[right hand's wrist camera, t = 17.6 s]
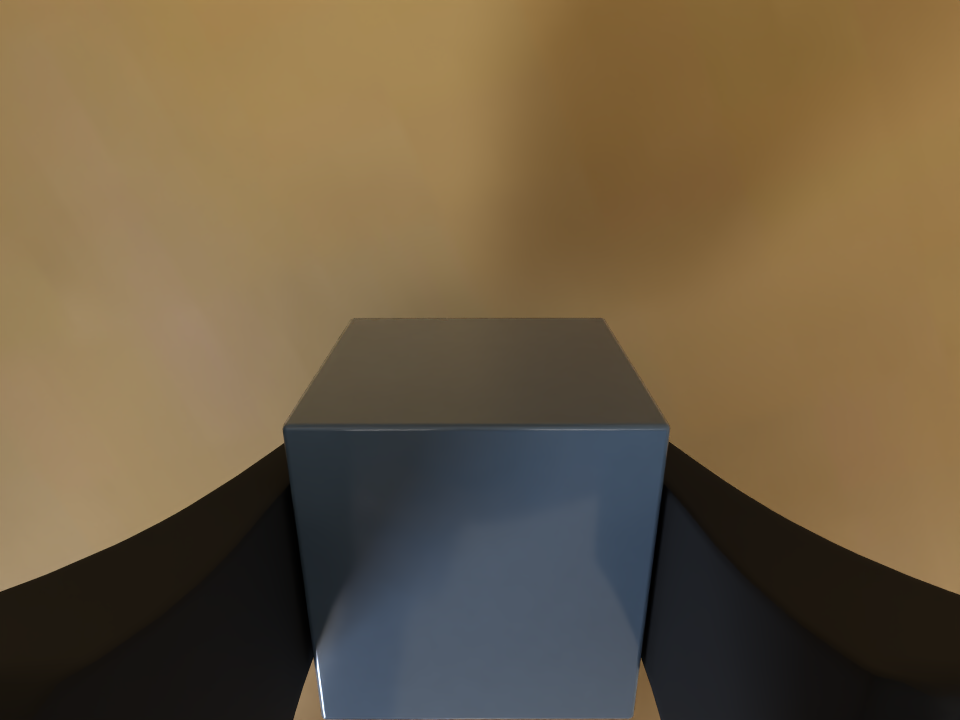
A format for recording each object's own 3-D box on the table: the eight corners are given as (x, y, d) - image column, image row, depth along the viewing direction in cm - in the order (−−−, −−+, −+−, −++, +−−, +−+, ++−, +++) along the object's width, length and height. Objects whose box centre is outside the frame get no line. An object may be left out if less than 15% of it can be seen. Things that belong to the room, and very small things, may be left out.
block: (588, 538, 13) (634, 721, 9) (368, 538, 13) (320, 722, 9) (604, 316, 11) (673, 425, 7) (350, 316, 11) (278, 426, 7)
